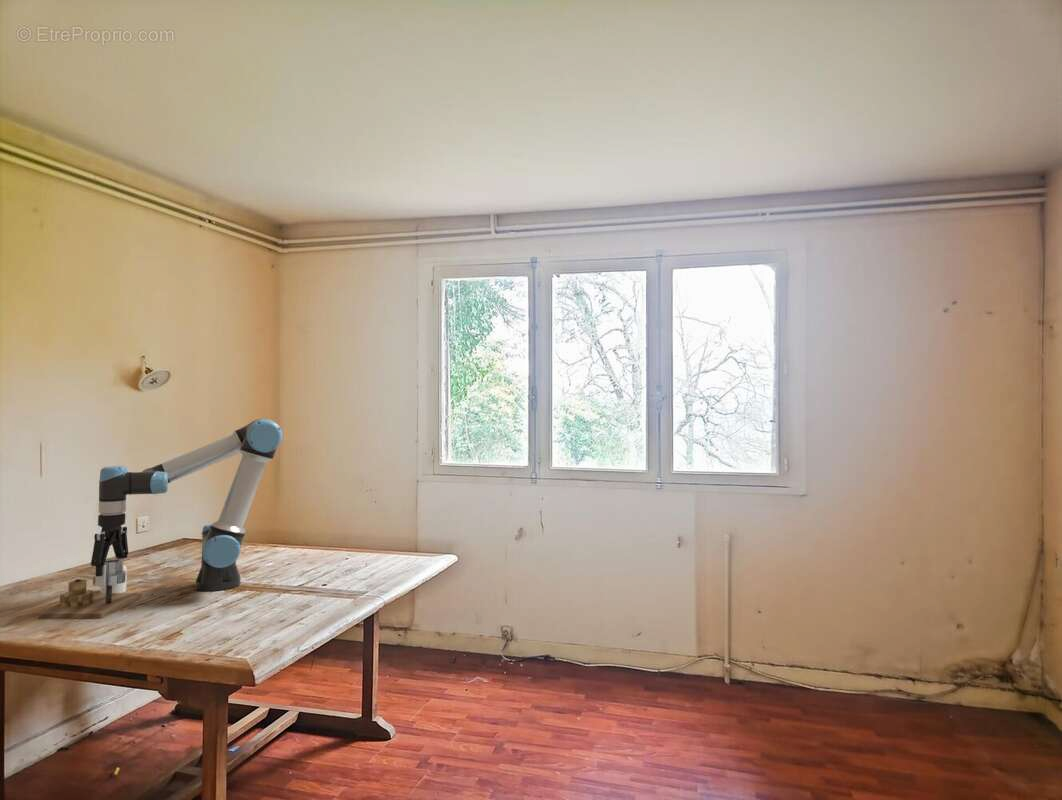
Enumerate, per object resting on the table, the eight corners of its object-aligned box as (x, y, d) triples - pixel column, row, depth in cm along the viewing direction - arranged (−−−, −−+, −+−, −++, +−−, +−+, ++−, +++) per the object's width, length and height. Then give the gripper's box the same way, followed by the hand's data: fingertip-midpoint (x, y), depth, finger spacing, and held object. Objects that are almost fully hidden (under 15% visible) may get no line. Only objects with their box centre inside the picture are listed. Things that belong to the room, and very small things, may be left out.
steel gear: (130, 579, 207) (131, 558, 207) (115, 586, 198) (115, 564, 199) (103, 579, 207) (104, 558, 207) (86, 586, 198) (87, 564, 198)
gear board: (141, 597, 214) (142, 571, 214) (101, 618, 192) (102, 588, 192) (84, 597, 212) (85, 571, 213) (37, 618, 190) (38, 588, 191)
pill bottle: (96, 595, 215) (97, 564, 215) (105, 589, 222) (106, 559, 223) (121, 594, 217) (122, 563, 217) (129, 588, 224) (130, 558, 225)
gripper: (119, 508, 214) (117, 573, 213) (78, 518, 192) (75, 591, 192) (142, 508, 214) (139, 573, 214) (103, 518, 193) (100, 591, 192)
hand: (109, 581), depth 203 cm, fingers closed on steel gear, 9 cm apart
